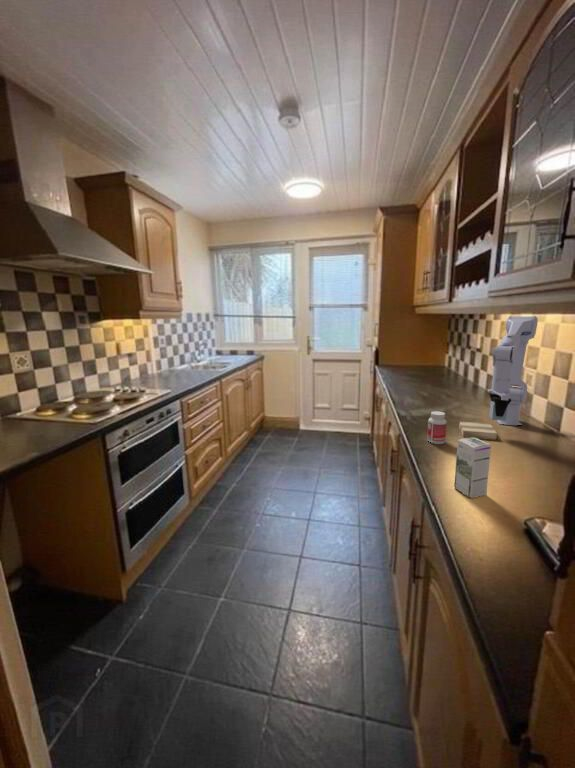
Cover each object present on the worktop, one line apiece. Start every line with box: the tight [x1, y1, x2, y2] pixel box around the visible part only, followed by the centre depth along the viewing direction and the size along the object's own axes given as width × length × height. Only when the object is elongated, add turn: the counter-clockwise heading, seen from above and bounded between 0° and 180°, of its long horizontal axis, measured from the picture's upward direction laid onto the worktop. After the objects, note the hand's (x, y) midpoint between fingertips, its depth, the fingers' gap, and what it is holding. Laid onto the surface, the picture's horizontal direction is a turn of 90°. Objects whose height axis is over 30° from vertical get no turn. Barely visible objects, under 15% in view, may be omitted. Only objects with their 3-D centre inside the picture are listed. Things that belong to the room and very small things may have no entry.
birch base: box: [458, 421, 498, 441], centre depth 131 cm, size 11×11×2 cm
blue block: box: [488, 400, 508, 421], centre depth 126 cm, size 4×4×6 cm
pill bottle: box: [426, 410, 447, 445], centre depth 123 cm, size 6×6×11 cm
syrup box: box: [453, 437, 492, 498], centre depth 89 cm, size 6×6×14 cm
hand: (497, 414), depth 127 cm, fingers closed on blue block, 4 cm apart
